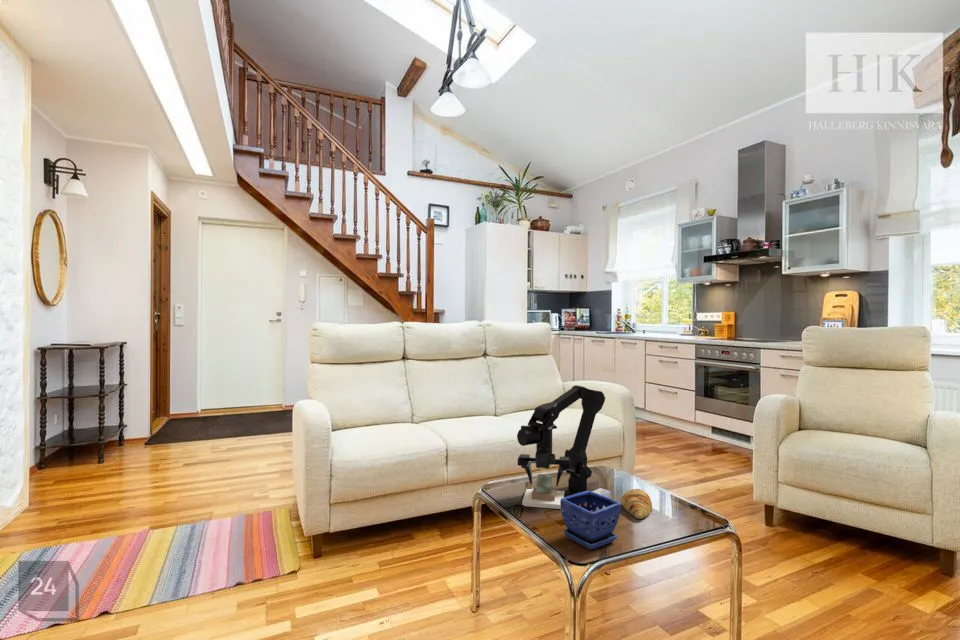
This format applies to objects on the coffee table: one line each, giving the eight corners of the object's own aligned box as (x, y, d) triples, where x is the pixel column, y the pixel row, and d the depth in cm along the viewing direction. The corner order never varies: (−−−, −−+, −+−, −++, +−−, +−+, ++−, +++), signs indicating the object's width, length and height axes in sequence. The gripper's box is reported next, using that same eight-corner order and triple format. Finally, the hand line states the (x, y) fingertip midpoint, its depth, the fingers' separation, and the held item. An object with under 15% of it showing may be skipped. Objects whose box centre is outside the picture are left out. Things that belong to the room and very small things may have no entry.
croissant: (649, 533, 158) (661, 512, 157) (620, 516, 160) (632, 496, 159) (640, 507, 179) (651, 488, 178) (615, 492, 180) (626, 474, 179)
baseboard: (564, 495, 182) (564, 485, 182) (562, 509, 168) (562, 499, 168) (526, 492, 185) (527, 482, 185) (522, 505, 171) (522, 495, 171)
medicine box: (599, 513, 165) (599, 487, 165) (611, 517, 162) (611, 490, 162) (586, 519, 160) (586, 493, 160) (598, 524, 157) (598, 496, 157)
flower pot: (622, 543, 143) (623, 502, 143) (591, 555, 136) (592, 512, 136) (588, 527, 154) (588, 489, 154) (558, 537, 147) (558, 498, 147)
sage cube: (551, 488, 179) (551, 475, 179) (550, 493, 174) (550, 479, 174) (537, 487, 180) (537, 474, 180) (536, 492, 175) (536, 478, 175)
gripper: (515, 446, 171) (515, 490, 171) (569, 449, 167) (569, 495, 167) (519, 438, 182) (519, 480, 182) (570, 441, 178) (570, 484, 178)
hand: (544, 485), depth 177 cm, fingers open, 9 cm apart
